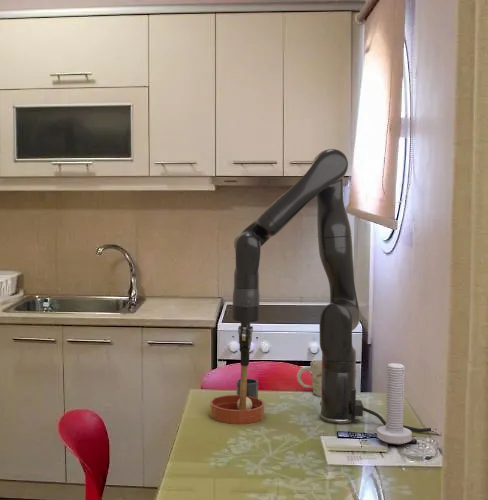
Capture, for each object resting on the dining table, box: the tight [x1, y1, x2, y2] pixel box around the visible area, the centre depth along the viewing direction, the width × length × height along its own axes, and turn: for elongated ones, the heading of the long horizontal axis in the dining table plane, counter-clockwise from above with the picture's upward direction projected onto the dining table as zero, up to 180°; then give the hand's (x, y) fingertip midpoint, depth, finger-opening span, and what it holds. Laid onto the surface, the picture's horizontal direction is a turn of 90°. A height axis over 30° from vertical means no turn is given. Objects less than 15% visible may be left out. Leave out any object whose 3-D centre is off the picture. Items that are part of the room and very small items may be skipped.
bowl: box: [209, 394, 265, 425], centre depth 195 cm, size 15×15×4 cm
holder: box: [236, 378, 259, 399], centre depth 208 cm, size 6×6×7 cm
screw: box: [376, 362, 413, 446], centre depth 175 cm, size 8×8×20 cm
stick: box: [239, 364, 249, 410], centre depth 195 cm, size 2×2×18 cm
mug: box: [296, 359, 322, 397], centre depth 219 cm, size 8×13×10 cm, turn 78°
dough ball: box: [237, 397, 252, 410], centre depth 198 cm, size 4×4×4 cm
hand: (244, 364), depth 195 cm, fingers closed on stick, 2 cm apart
